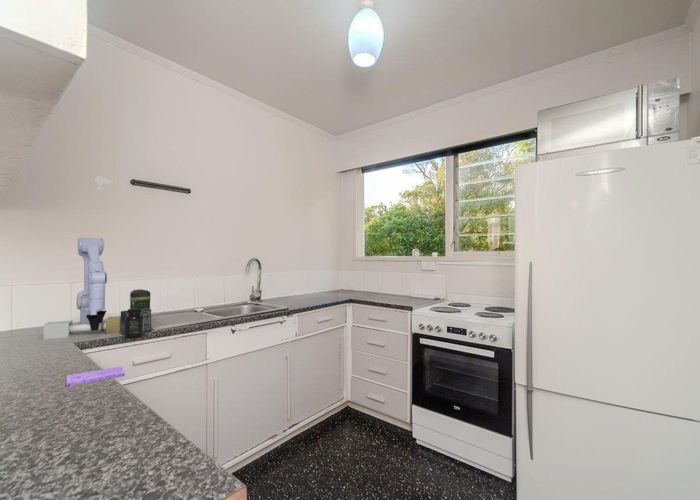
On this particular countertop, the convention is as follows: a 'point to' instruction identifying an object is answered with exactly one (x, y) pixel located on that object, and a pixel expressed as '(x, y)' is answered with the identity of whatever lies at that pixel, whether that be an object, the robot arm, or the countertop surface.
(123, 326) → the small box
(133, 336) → the supplement bottle
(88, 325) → the tube
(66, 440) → the countertop surface
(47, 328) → the light grey block
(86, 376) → the sponges
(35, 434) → the countertop surface
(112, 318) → the socket
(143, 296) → the coffee jar
